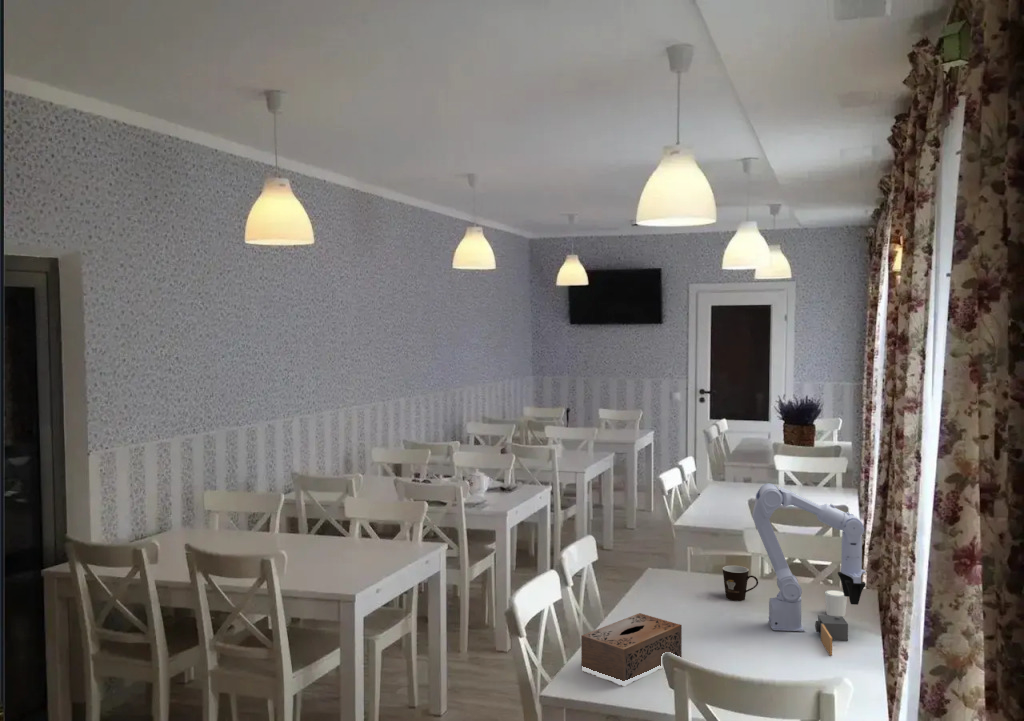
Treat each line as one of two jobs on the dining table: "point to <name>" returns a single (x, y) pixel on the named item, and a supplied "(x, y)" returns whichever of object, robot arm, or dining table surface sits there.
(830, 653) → the side door
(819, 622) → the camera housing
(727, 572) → the coffee mug
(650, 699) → the dining table surface
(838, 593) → the white cup
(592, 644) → the tissue box cover
